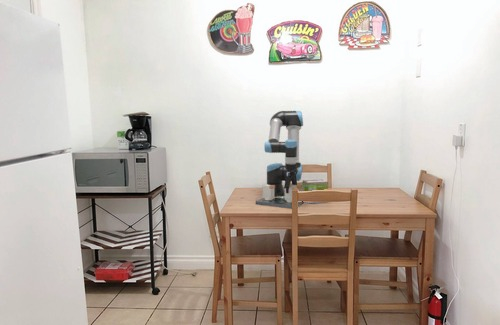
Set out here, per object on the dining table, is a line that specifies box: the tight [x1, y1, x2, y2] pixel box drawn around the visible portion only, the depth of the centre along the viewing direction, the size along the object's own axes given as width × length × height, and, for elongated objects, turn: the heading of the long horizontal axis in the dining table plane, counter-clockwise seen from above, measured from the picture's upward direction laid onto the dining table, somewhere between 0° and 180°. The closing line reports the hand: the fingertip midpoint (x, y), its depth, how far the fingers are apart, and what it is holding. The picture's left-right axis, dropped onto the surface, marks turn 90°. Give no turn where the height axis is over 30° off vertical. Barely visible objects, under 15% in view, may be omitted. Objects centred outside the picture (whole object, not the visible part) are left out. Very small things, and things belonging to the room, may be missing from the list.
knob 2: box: [284, 185, 299, 203], centre depth 232 cm, size 8×5×10 cm, turn 38°
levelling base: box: [255, 195, 304, 209], centre depth 236 cm, size 16×28×4 cm, turn 64°
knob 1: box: [262, 183, 275, 201], centre depth 239 cm, size 8×5×10 cm, turn 39°
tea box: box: [301, 178, 329, 204], centre depth 241 cm, size 15×10×15 cm
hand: (290, 196), depth 232 cm, fingers open, 11 cm apart
